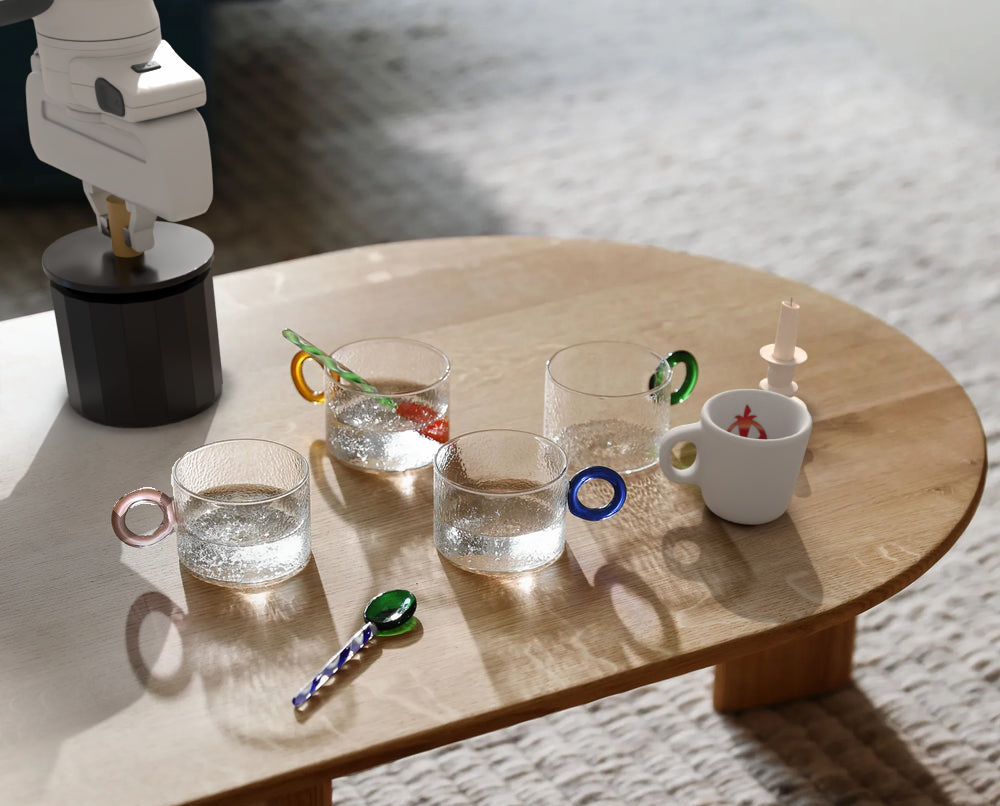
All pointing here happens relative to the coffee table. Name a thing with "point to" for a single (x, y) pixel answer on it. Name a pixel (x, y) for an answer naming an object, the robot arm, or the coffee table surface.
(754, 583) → the coffee table surface
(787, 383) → the candlestick
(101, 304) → the pot
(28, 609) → the coffee table surface
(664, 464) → the cup
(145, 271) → the lid
